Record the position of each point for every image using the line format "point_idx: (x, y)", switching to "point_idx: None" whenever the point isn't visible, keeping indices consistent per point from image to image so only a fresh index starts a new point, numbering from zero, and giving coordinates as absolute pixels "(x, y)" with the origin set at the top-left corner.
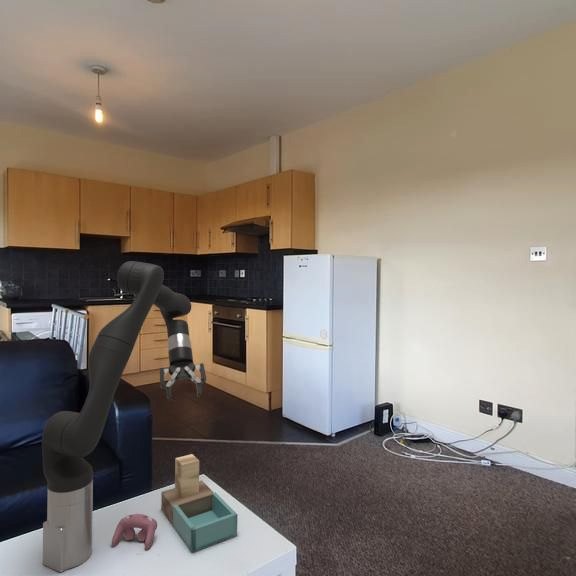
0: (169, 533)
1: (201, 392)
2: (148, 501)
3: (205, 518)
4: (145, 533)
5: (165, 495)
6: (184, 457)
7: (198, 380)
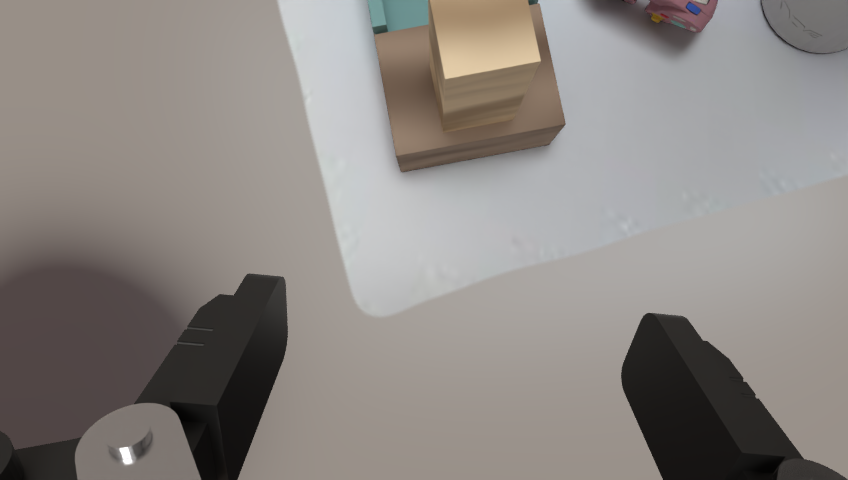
0: (540, 3)
1: (214, 300)
2: (585, 215)
3: (424, 17)
4: None
5: (554, 90)
6: (493, 52)
7: (131, 454)
